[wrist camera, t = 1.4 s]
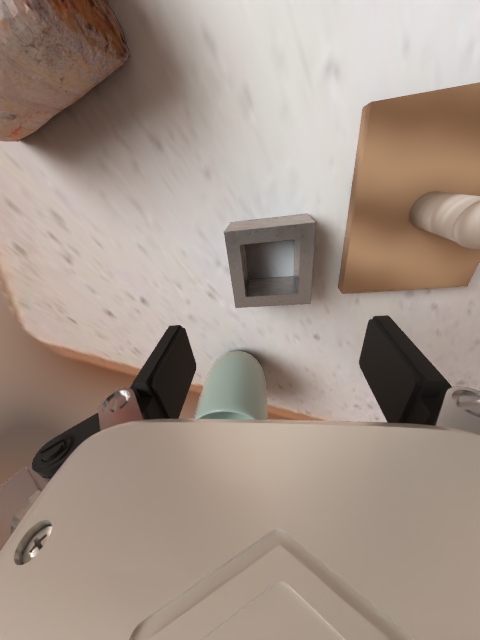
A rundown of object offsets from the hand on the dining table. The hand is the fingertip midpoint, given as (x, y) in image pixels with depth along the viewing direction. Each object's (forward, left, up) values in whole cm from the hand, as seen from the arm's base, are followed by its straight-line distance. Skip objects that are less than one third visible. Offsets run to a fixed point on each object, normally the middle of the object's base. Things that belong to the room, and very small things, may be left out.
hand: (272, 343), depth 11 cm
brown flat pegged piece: (-3, +13, -13) cm, 18 cm away
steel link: (0, 0, -13) cm, 13 cm away
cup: (+15, -5, -13) cm, 20 cm away
